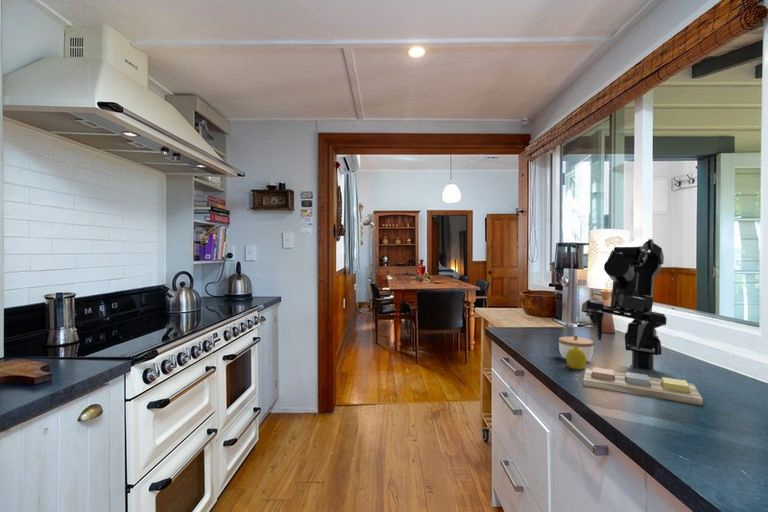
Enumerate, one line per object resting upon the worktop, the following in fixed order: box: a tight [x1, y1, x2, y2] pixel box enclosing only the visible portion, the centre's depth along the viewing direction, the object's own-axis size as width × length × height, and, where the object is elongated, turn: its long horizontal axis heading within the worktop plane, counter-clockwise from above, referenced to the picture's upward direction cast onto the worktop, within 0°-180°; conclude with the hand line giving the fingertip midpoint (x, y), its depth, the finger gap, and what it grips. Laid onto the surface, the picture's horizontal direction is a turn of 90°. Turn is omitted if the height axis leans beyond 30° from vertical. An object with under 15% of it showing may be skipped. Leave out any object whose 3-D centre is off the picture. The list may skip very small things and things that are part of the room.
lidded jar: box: [558, 334, 595, 362], centre depth 127 cm, size 11×11×9 cm
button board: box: [582, 367, 704, 406], centre depth 99 cm, size 12×25×3 cm, turn 58°
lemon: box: [565, 347, 587, 370], centre depth 116 cm, size 6×6×8 cm
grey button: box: [625, 371, 650, 387], centre depth 99 cm, size 5×5×3 cm
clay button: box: [592, 366, 615, 381], centre depth 103 cm, size 5×5×3 cm
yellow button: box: [661, 376, 689, 393], centre depth 95 cm, size 5×5×3 cm
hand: (618, 344), depth 97 cm, fingers open, 9 cm apart
